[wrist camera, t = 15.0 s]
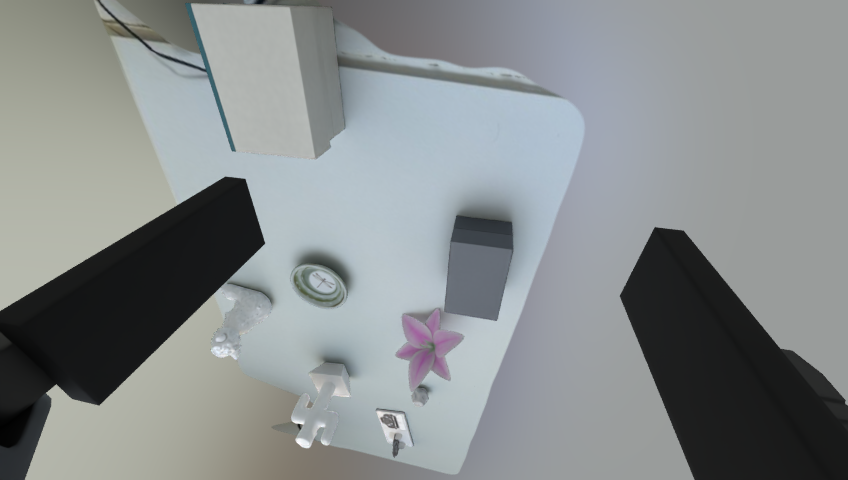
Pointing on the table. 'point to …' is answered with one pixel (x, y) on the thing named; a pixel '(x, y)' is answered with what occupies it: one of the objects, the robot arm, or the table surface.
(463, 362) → the table surface
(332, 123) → the white rectangular block
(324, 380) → the figurine
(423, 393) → the game die
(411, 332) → the lily
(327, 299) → the saucer
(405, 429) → the car cutout
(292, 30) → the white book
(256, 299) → the sitting furry creature
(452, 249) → the grey box
